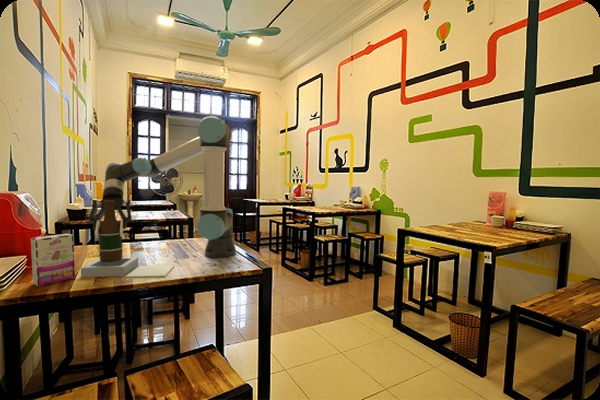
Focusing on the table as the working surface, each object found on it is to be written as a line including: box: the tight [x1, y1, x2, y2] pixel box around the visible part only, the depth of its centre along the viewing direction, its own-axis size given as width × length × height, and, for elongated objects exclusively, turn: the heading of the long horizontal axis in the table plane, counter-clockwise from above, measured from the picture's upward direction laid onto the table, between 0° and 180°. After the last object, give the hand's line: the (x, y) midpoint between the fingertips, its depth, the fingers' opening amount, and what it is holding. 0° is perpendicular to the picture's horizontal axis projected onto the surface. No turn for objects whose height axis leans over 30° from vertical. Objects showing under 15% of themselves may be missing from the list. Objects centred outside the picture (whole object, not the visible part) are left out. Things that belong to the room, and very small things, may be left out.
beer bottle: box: [98, 200, 123, 262], centre depth 124 cm, size 8×8×24 cm
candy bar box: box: [30, 233, 76, 287], centre depth 110 cm, size 11×5×16 cm, turn 148°
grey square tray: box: [80, 256, 139, 278], centre depth 125 cm, size 15×15×4 cm
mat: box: [125, 264, 175, 279], centre depth 124 cm, size 14×14×1 cm
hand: (109, 235), depth 121 cm, fingers closed on beer bottle, 7 cm apart
